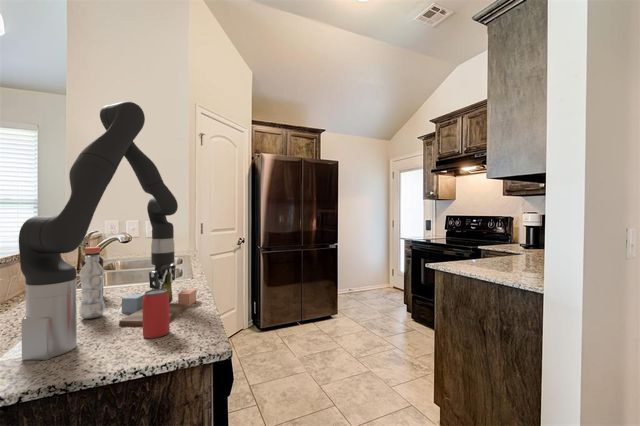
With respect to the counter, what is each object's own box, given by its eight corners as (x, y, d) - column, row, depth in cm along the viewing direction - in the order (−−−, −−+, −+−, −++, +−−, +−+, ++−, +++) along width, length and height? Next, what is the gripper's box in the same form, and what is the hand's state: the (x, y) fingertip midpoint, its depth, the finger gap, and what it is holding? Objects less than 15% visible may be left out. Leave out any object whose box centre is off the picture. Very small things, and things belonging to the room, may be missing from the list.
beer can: (150, 341, 78) (150, 296, 78) (137, 335, 82) (137, 292, 82) (174, 332, 84) (174, 290, 84) (161, 327, 87) (161, 287, 87)
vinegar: (106, 296, 119) (106, 247, 119) (86, 301, 113) (85, 249, 113) (98, 294, 123) (98, 246, 123) (78, 298, 117) (78, 247, 117)
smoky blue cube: (136, 313, 100) (136, 298, 100) (121, 313, 100) (121, 298, 100) (145, 308, 105) (145, 294, 105) (131, 308, 105) (131, 294, 105)
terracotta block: (189, 306, 108) (189, 293, 108) (178, 306, 108) (178, 293, 108) (196, 301, 114) (196, 289, 114) (185, 301, 114) (185, 289, 114)
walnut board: (162, 325, 89) (162, 320, 89) (119, 325, 89) (119, 320, 89) (186, 308, 105) (186, 304, 105) (150, 308, 105) (150, 304, 105)
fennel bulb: (151, 306, 107) (151, 273, 107) (161, 302, 112) (161, 270, 112) (165, 307, 106) (165, 274, 106) (174, 303, 111) (174, 271, 110)
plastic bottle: (91, 321, 92) (91, 257, 92) (73, 320, 93) (73, 257, 93) (110, 314, 98) (109, 254, 98) (93, 313, 100) (93, 254, 100)
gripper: (162, 253, 101) (162, 302, 102) (182, 248, 116) (182, 290, 116) (140, 253, 102) (141, 302, 102) (163, 248, 116) (163, 290, 116)
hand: (163, 296), depth 109 cm, fingers open, 6 cm apart
